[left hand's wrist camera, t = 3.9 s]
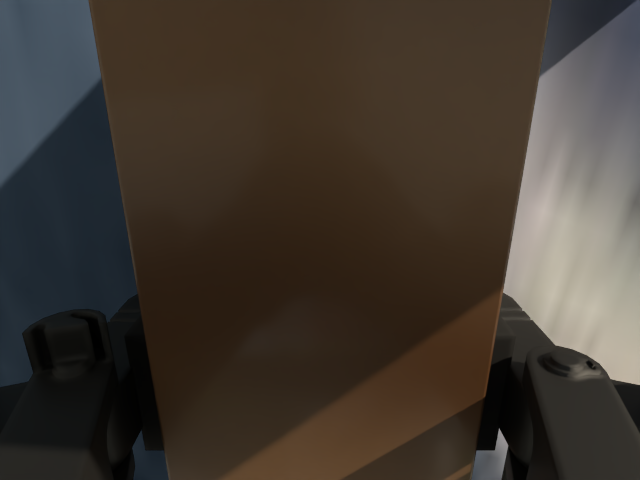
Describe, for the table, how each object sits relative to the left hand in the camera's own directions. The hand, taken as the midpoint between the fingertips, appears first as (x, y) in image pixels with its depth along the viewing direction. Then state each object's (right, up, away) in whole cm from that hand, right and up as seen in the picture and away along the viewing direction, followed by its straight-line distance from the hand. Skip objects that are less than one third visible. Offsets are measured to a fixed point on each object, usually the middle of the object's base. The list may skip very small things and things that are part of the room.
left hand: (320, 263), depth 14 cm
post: (0, -18, +7) cm, 19 cm away
